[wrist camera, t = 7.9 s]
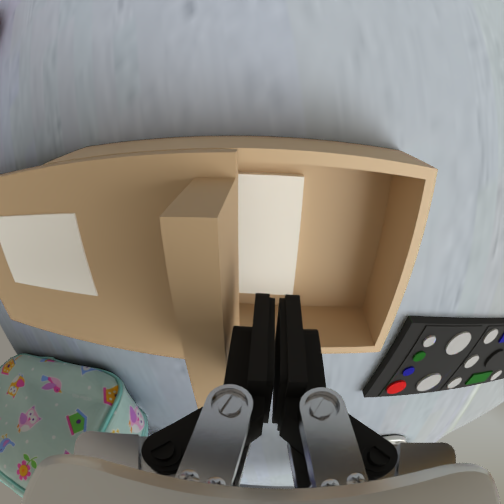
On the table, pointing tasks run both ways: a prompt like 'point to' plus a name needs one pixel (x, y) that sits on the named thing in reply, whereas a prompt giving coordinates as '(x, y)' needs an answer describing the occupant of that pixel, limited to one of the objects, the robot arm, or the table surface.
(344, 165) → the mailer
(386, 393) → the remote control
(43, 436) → the lunch box
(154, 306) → the lid
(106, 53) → the table surface
